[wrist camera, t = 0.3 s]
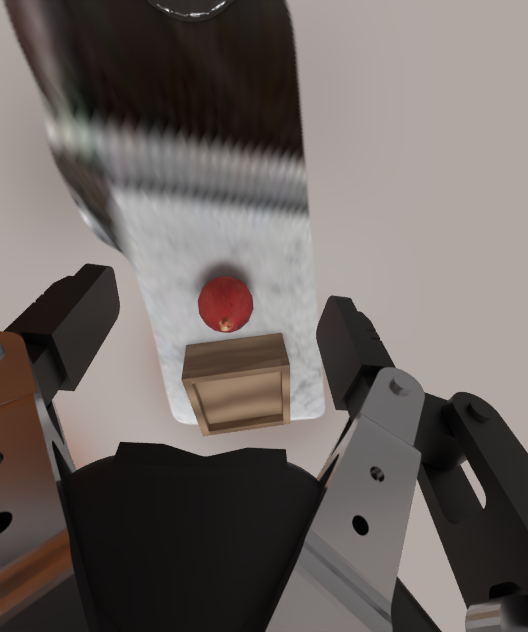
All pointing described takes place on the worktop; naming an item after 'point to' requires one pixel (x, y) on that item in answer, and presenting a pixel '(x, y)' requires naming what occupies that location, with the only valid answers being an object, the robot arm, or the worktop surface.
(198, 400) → the brown wooden box
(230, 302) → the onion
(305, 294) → the worktop surface
